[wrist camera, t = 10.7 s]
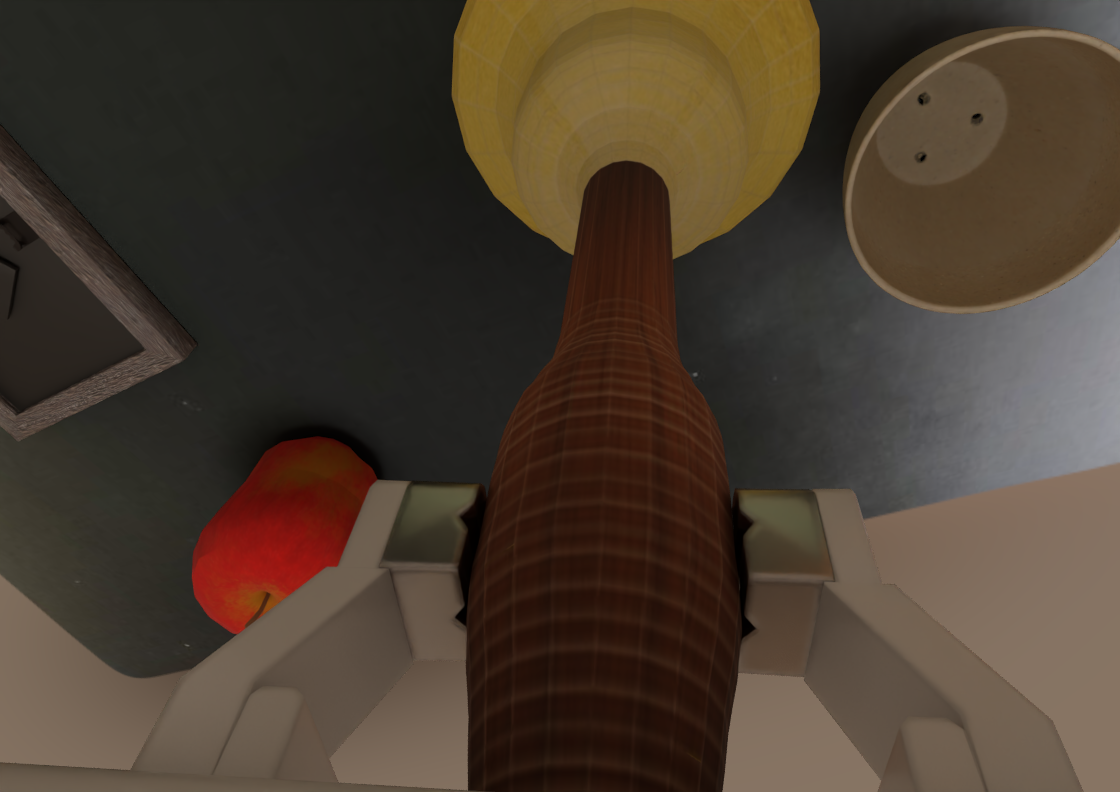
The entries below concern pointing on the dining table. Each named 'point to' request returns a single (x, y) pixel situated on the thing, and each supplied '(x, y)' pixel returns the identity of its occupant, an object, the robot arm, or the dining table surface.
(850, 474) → the dining table surface
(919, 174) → the flower pot
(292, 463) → the apple
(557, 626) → the handbell
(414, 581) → the robot arm
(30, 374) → the picture frame
